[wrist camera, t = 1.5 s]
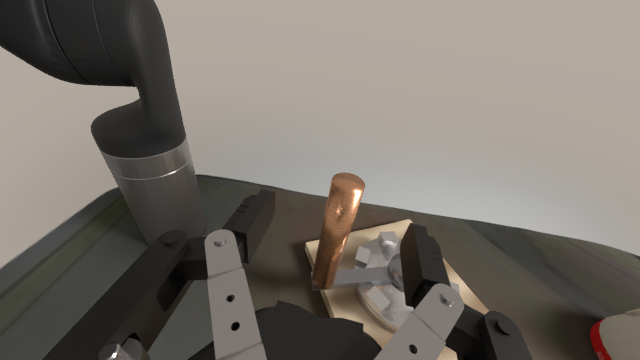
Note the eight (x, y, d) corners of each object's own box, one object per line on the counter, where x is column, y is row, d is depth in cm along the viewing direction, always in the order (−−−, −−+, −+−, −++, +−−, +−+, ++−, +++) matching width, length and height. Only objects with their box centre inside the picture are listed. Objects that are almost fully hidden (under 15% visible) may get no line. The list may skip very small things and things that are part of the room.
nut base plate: (304, 249, 40) (305, 242, 39) (406, 225, 48) (409, 219, 47) (368, 420, 25) (373, 417, 23) (503, 343, 32) (512, 338, 31)
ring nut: (417, 242, 42) (474, 149, 30) (468, 332, 31) (591, 239, 19) (304, 248, 38) (319, 142, 26) (316, 354, 27) (353, 252, 15)
